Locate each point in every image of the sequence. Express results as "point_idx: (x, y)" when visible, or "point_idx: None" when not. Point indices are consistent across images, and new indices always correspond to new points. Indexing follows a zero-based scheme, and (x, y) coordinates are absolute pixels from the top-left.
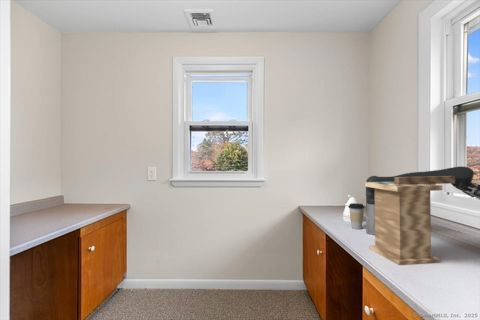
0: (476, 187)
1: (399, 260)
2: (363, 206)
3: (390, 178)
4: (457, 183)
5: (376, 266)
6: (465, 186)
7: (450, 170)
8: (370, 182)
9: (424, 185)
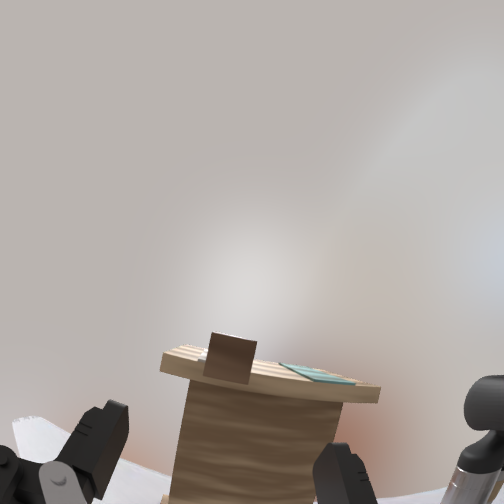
0: (127, 426)
1: (167, 497)
2: (502, 466)
3: (499, 385)
4: None
5: (169, 478)
6: (337, 491)
7: None
8: (315, 369)
9: (187, 352)
